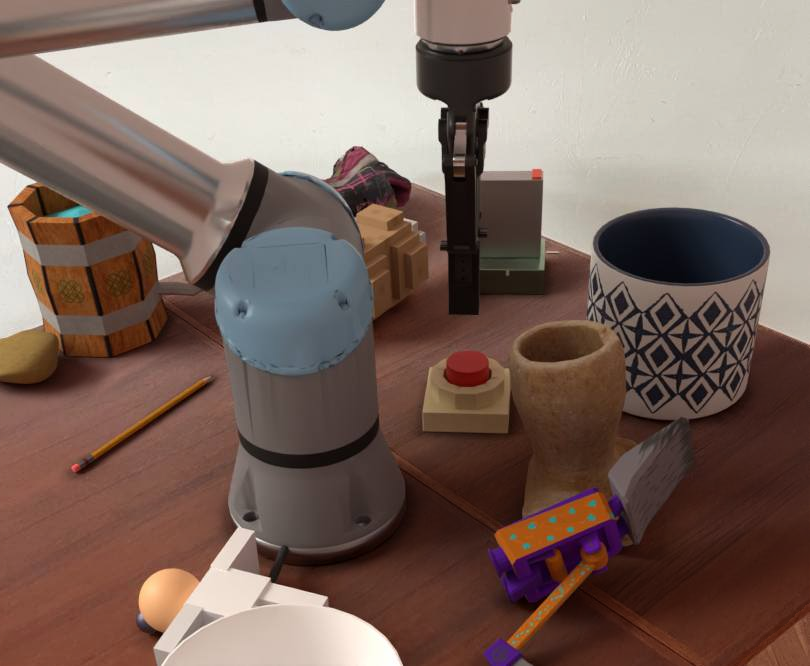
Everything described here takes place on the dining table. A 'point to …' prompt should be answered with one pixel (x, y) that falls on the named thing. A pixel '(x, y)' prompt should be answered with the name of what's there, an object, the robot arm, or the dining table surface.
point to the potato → (28, 356)
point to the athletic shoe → (368, 181)
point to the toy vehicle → (585, 532)
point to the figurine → (210, 594)
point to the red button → (467, 369)
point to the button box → (467, 402)
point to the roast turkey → (392, 255)
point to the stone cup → (569, 408)
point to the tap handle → (511, 213)
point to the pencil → (138, 425)
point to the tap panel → (513, 274)
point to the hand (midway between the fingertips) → (464, 310)
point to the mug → (90, 275)
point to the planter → (680, 306)
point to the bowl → (286, 640)
